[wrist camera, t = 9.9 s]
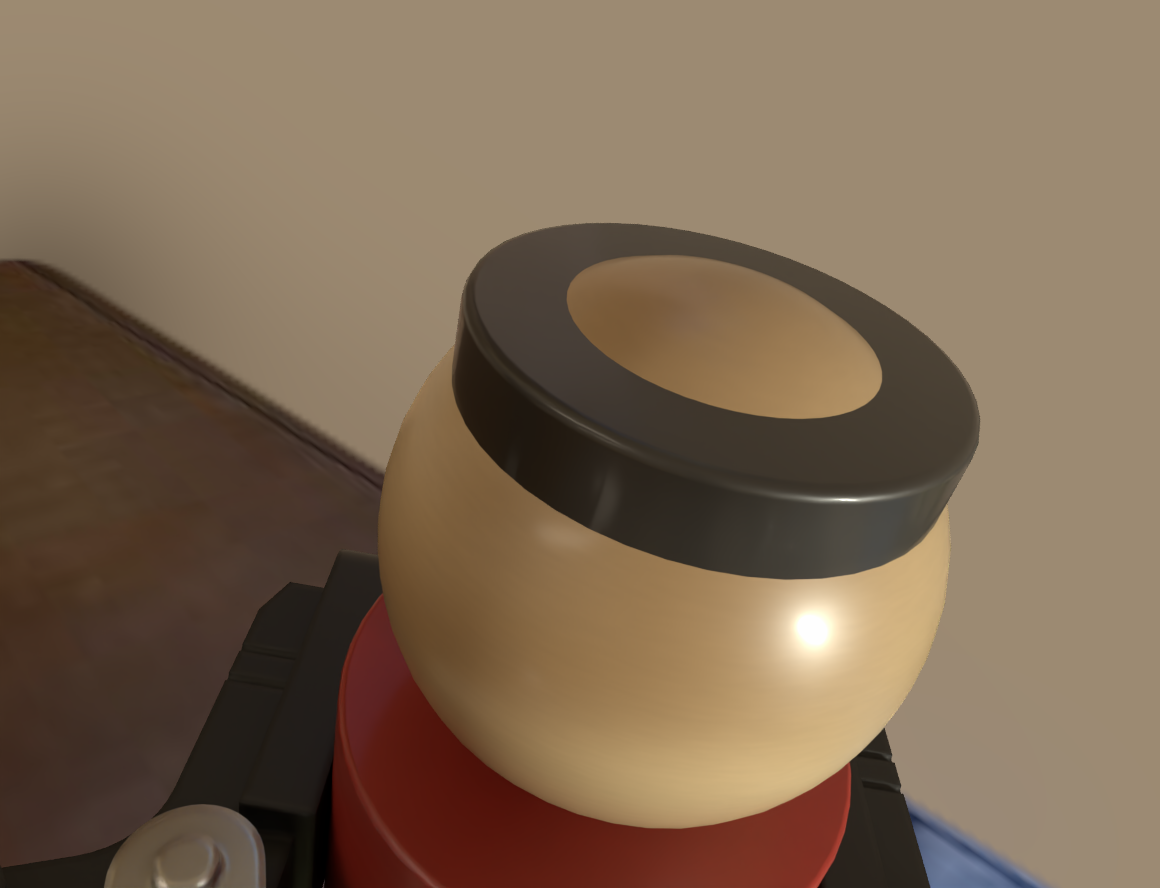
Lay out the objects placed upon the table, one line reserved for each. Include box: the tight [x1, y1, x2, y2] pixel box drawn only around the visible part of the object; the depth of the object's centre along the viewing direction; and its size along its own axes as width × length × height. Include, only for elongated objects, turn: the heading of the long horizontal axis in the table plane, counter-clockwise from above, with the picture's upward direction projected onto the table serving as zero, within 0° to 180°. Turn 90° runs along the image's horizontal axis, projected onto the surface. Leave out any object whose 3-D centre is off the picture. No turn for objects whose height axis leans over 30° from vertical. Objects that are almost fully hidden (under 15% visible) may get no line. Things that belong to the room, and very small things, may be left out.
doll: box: [324, 223, 980, 888], centre depth 10 cm, size 5×5×14 cm
